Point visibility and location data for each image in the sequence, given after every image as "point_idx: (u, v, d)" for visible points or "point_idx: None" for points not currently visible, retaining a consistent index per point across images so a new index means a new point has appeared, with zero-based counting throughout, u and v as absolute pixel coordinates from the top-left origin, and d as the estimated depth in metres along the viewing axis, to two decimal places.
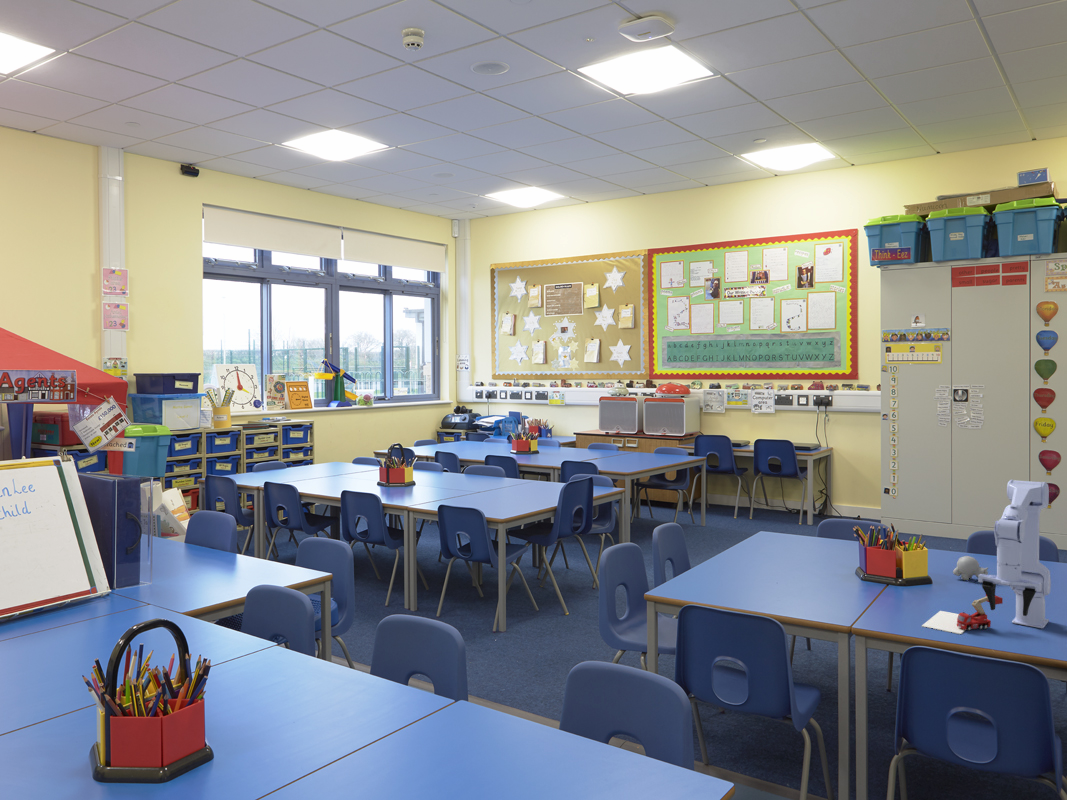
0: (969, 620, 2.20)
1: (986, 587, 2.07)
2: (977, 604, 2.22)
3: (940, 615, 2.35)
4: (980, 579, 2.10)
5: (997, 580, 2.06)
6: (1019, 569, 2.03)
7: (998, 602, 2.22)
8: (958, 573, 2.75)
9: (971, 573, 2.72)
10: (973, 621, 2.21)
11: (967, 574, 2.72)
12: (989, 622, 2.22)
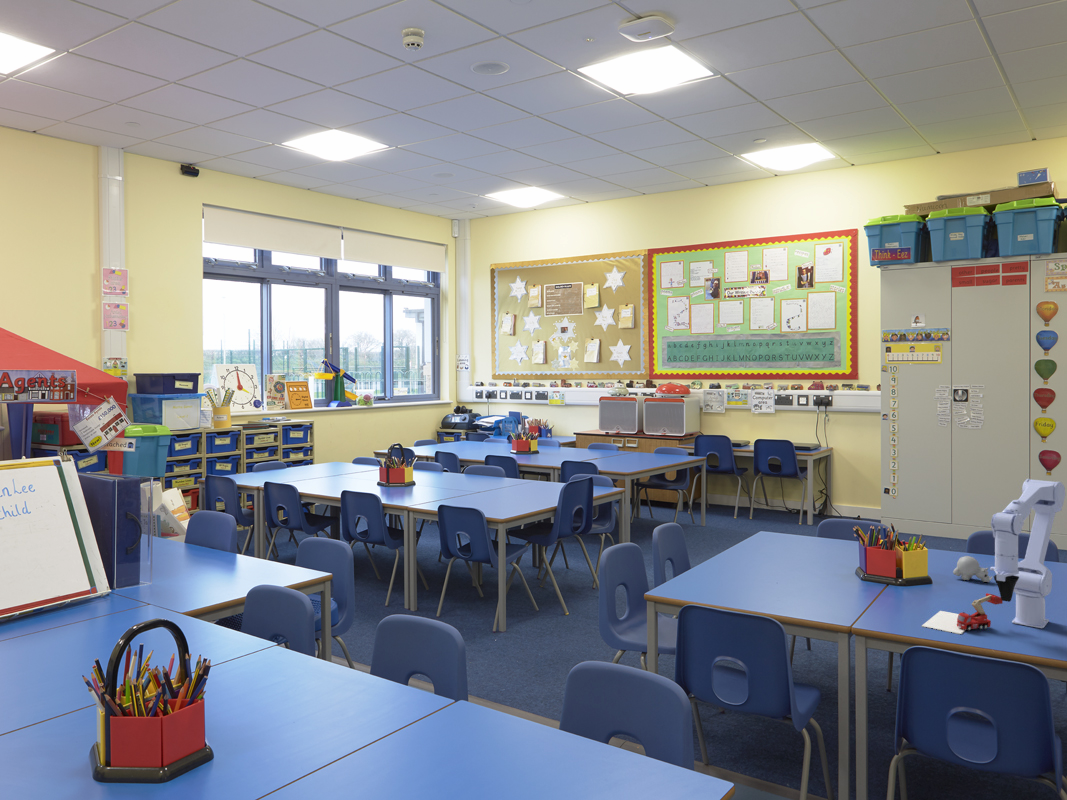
0: (969, 620, 2.20)
1: None
2: (977, 604, 2.22)
3: (940, 615, 2.35)
4: None
5: None
6: (1000, 559, 2.16)
7: (998, 602, 2.22)
8: (958, 573, 2.74)
9: (971, 573, 2.72)
10: (973, 621, 2.21)
11: (967, 574, 2.72)
12: (989, 622, 2.22)
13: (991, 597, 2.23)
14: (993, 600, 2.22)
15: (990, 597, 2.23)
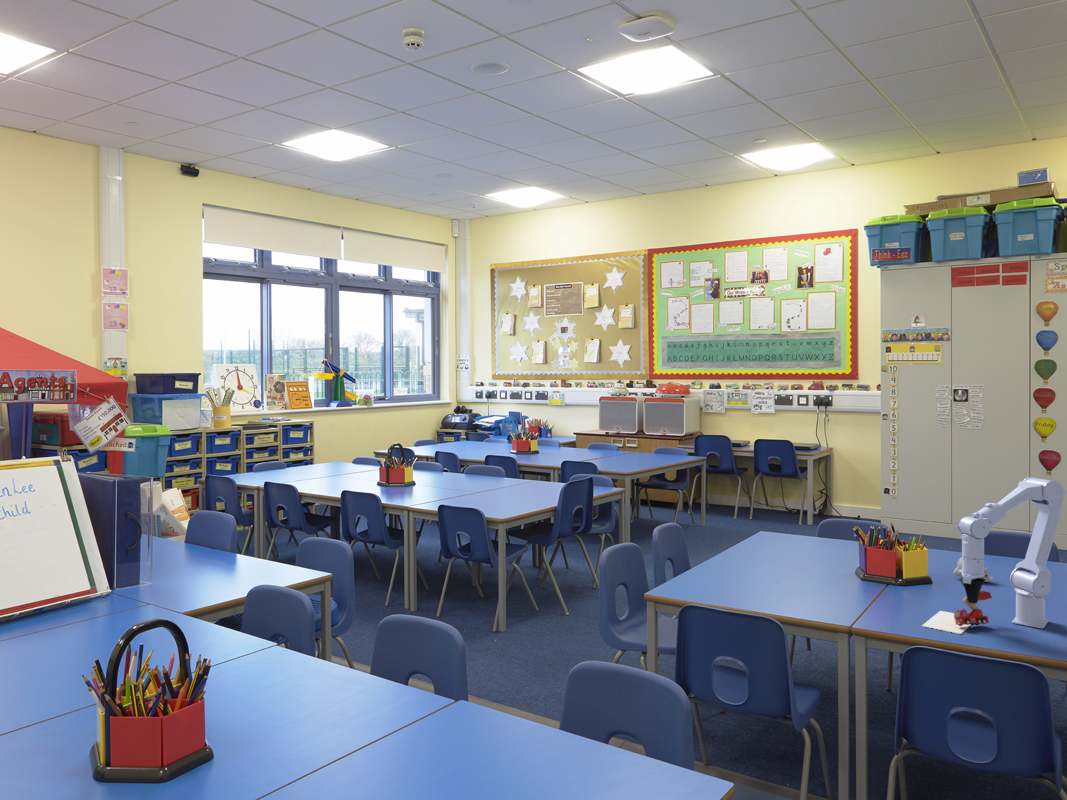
0: (965, 614, 2.22)
1: None
2: None
3: (940, 615, 2.35)
4: None
5: None
6: (966, 562, 2.22)
7: (987, 596, 2.26)
8: (958, 573, 2.74)
9: None
10: (970, 616, 2.23)
11: None
12: (986, 617, 2.23)
13: None
14: (982, 595, 2.27)
15: None
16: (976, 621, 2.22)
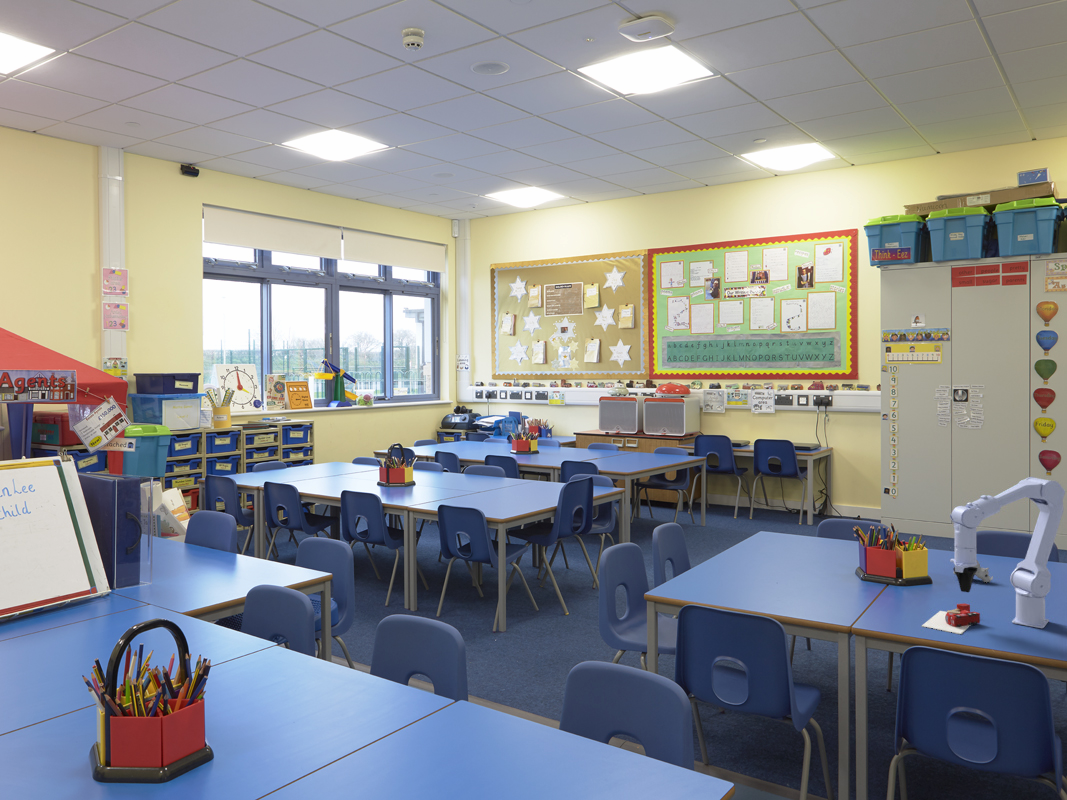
0: (951, 613, 2.26)
1: None
2: (949, 611, 2.31)
3: (940, 615, 2.35)
4: None
5: None
6: (959, 551, 2.24)
7: (964, 605, 2.34)
8: None
9: None
10: None
11: None
12: (974, 612, 2.27)
13: (957, 608, 2.34)
14: (959, 606, 2.34)
15: (957, 608, 2.34)
16: (966, 614, 2.25)
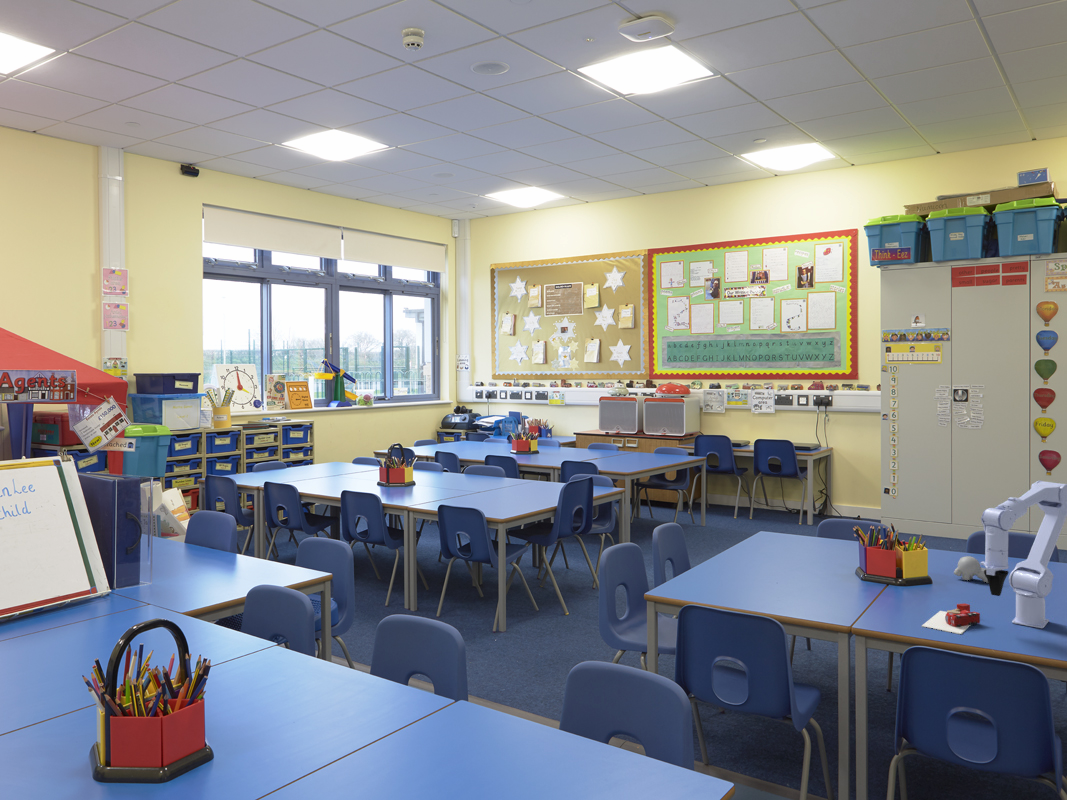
0: (951, 613, 2.26)
1: None
2: (949, 611, 2.31)
3: (940, 615, 2.35)
4: None
5: None
6: (990, 553, 2.19)
7: (964, 605, 2.34)
8: (959, 573, 2.74)
9: (972, 573, 2.71)
10: None
11: (968, 574, 2.72)
12: (974, 612, 2.27)
13: (957, 608, 2.34)
14: (959, 606, 2.34)
15: (957, 608, 2.34)
16: (966, 614, 2.25)
